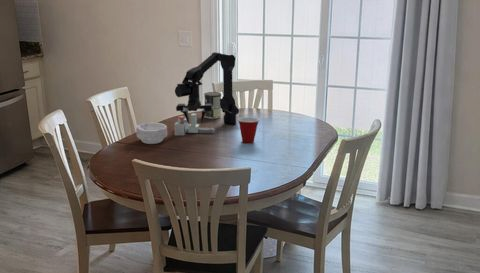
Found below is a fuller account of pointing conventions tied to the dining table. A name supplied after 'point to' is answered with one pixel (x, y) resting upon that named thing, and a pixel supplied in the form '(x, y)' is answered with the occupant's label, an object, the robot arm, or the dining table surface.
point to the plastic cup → (248, 129)
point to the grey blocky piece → (181, 127)
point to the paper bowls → (151, 132)
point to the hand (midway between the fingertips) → (195, 122)
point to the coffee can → (215, 101)
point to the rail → (205, 130)
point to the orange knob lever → (181, 118)
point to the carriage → (193, 124)
